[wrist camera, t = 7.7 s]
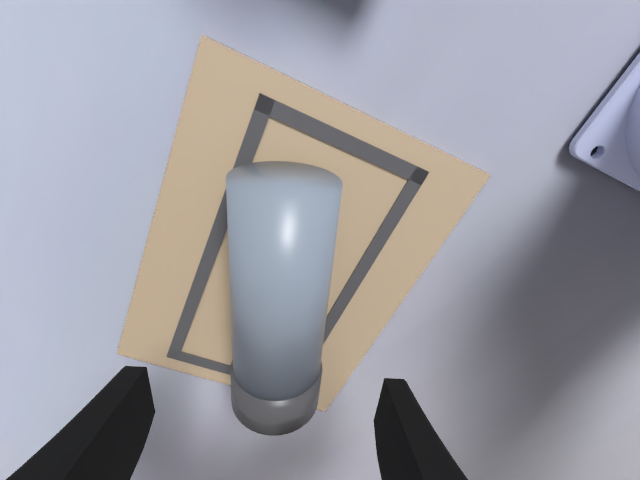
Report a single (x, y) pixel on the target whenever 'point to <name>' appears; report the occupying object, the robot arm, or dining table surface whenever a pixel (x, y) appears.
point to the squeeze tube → (279, 289)
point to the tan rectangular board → (353, 224)
